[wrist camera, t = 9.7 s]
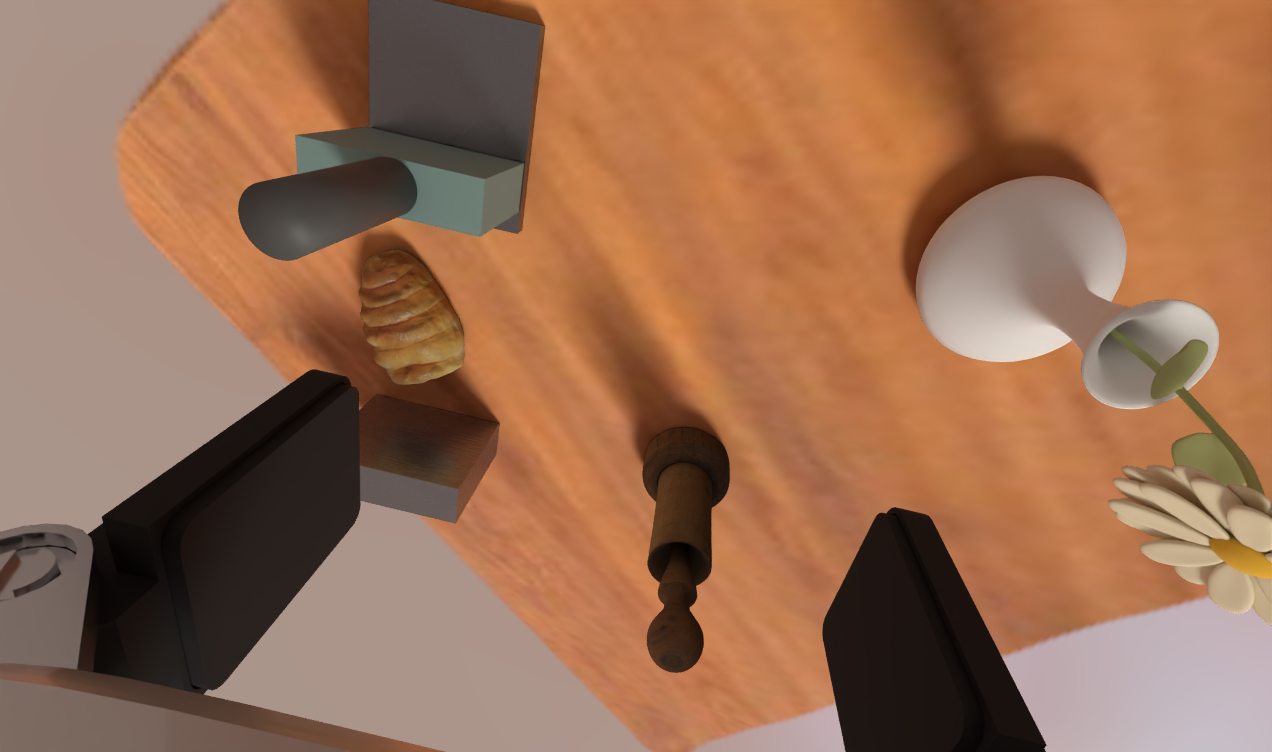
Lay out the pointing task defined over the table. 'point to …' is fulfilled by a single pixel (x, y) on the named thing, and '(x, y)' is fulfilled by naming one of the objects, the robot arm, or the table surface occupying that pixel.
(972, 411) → the table surface
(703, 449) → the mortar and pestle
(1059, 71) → the table surface
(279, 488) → the robot arm
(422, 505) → the block
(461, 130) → the dark grey flat plate
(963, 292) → the flower in vase
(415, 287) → the pastry
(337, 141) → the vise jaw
